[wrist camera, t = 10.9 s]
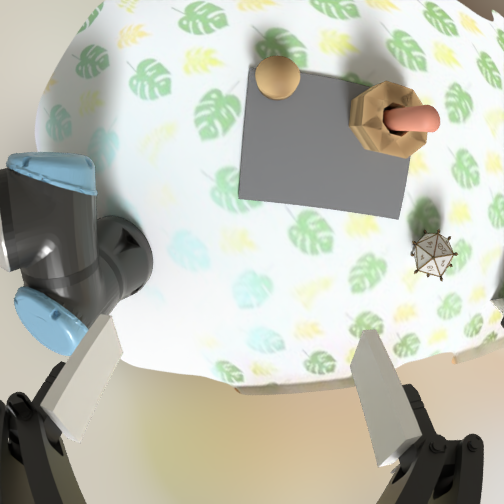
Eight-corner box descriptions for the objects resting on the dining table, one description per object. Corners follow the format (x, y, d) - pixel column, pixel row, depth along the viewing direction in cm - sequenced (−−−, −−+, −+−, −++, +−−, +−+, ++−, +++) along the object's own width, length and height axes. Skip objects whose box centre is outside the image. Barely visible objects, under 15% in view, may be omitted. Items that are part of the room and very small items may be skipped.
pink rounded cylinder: (370, 128, 35) (417, 127, 22) (372, 109, 34) (419, 101, 21) (388, 132, 35) (438, 135, 22) (390, 114, 34) (441, 109, 21)
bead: (346, 145, 36) (359, 147, 31) (352, 82, 32) (365, 74, 27) (404, 158, 36) (423, 163, 31) (410, 99, 32) (430, 96, 27)
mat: (239, 198, 41) (238, 198, 41) (250, 68, 33) (249, 67, 33) (397, 218, 41) (398, 219, 40) (414, 101, 33) (416, 101, 32)
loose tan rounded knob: (255, 98, 35) (253, 93, 30) (258, 63, 32) (257, 54, 28) (294, 102, 34) (298, 97, 30) (297, 67, 32) (301, 58, 28)
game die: (405, 237, 46) (399, 241, 38) (443, 219, 41) (446, 219, 33) (421, 281, 44) (418, 295, 37) (460, 265, 39) (465, 275, 31)
